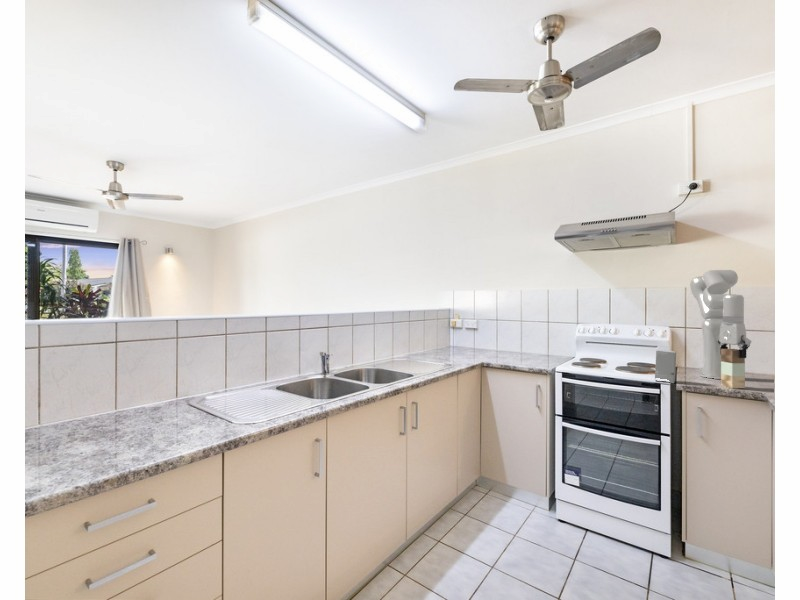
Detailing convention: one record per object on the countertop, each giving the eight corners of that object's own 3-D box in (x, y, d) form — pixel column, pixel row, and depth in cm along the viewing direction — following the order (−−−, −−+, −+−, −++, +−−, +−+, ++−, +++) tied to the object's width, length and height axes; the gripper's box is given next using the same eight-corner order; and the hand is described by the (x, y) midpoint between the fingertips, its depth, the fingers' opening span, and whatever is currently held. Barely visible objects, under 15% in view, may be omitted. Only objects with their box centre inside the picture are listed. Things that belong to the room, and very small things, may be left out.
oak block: (721, 385, 182) (721, 373, 182) (733, 385, 182) (733, 373, 182) (732, 388, 176) (732, 376, 176) (744, 388, 176) (744, 376, 176)
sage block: (721, 373, 182) (721, 361, 182) (733, 373, 182) (733, 361, 182) (732, 376, 176) (732, 363, 176) (744, 376, 176) (745, 363, 176)
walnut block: (721, 361, 182) (721, 348, 182) (733, 361, 182) (733, 348, 182) (732, 363, 176) (732, 350, 176) (744, 363, 176) (744, 350, 176)
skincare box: (654, 381, 192) (654, 350, 192) (656, 379, 197) (656, 349, 197) (675, 383, 186) (675, 351, 186) (676, 381, 192) (676, 350, 192)
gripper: (710, 319, 187) (710, 353, 187) (742, 321, 170) (741, 359, 170) (725, 319, 188) (725, 353, 188) (758, 321, 170) (758, 359, 170)
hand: (733, 356), depth 179 cm, fingers open, 9 cm apart
